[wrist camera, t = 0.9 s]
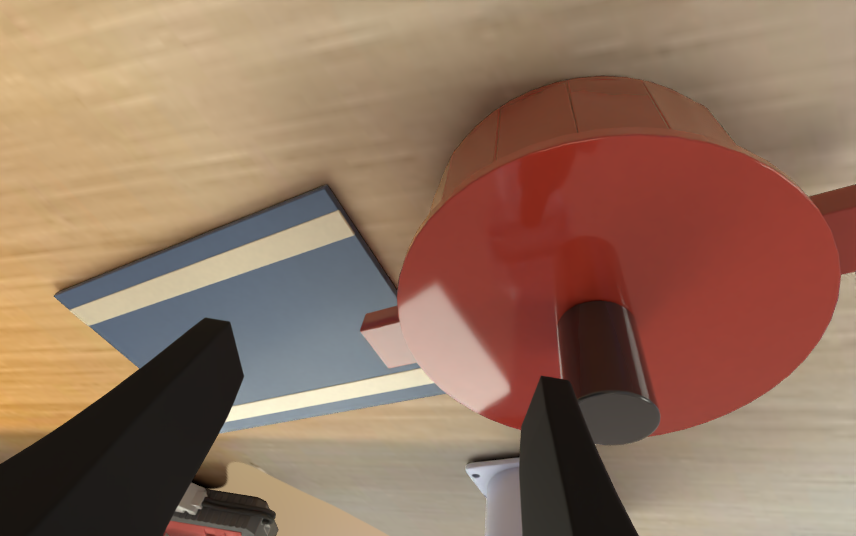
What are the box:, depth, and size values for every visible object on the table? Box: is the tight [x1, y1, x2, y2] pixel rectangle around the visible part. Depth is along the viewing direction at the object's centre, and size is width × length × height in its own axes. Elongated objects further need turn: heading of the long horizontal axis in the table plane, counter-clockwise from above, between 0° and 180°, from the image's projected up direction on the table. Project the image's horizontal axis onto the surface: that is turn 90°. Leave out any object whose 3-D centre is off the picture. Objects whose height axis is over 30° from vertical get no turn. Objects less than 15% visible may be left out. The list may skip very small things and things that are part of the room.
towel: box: [54, 185, 446, 433], centre depth 27 cm, size 14×19×1 cm
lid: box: [397, 127, 841, 445], centre depth 14 cm, size 13×13×4 cm
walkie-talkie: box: [163, 482, 278, 536], centre depth 41 cm, size 9×4×20 cm
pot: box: [360, 76, 856, 369], centre depth 18 cm, size 12×17×5 cm
